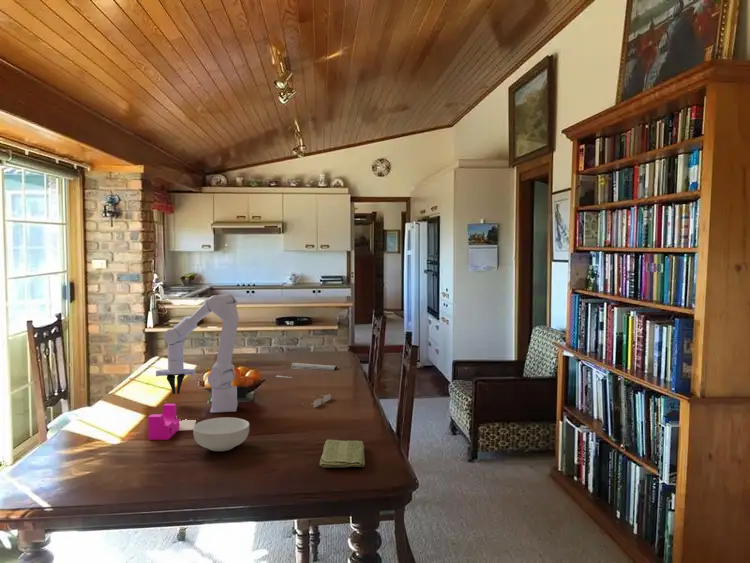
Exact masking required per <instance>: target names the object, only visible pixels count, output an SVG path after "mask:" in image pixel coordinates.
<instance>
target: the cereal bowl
mask: <svg viewBox="0 0 750 563" xmlns="http://www.w3.org/2000/svg"><path fill="white" fill-rule="evenodd" d="M192 431H193V433H192V434H193V437H194V441H195V442H196V443H197V444H198V445H199V446H201V447H203V448H205V449H208V450H210V451H211V452H226V451H230V450H232V449H234V448H235V447H237V446H240V445H241V444H242V443H244V442H245V441H246V439H247V438H248V436H249V433H250V422H249V421H248V420H246V419H243V418H239V417H230V416H229V417H227V416H226V417H213V418H208V419H204V420H201V421H198V422H196V423H195V425H194V427H193V430H192Z"/></svg>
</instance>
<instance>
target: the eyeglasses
mask: <svg viewBox="0 0 750 563" xmlns="http://www.w3.org/2000/svg"><path fill="white" fill-rule="evenodd" d="M319 396H322V397H323V398H320V397H319ZM315 397H316V398H317V397H319V398H317V399H315V400H314V401H313V403H312V405H313V409H315V408H317V407H319V406H321V405H322V403H326V402H328V401H330V400H331V397H332V395H331V393H329V394H327V395H321V394H319V395H318V394H317V395H316V396H315ZM299 405H303V403H298V404H297V406H299Z"/></svg>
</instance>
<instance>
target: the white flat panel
mask: <svg viewBox="0 0 750 563" xmlns="http://www.w3.org/2000/svg"><path fill="white" fill-rule="evenodd" d="M195 424H197V421H196V420H187V419H185V420H182V421H181V419H179V430H178V431H177V432H180V431H193V427H194V425H195Z"/></svg>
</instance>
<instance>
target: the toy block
mask: <svg viewBox="0 0 750 563" xmlns="http://www.w3.org/2000/svg"><path fill="white" fill-rule="evenodd" d="M177 416H178V415H177V403H165V404H163V405H162V413H160V414H159V413H155V414H154V413H153V414H150V415H149V416H148V417H147V418H148V423H147V424H148V440H150V441H151V440H153V441H154V440H161V441H163V440H165V441H166V440H169V439H171V438H172V437H173V436H174V435H175V434H176V433H177V432H179V431H178V430H179V419H177Z"/></svg>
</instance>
